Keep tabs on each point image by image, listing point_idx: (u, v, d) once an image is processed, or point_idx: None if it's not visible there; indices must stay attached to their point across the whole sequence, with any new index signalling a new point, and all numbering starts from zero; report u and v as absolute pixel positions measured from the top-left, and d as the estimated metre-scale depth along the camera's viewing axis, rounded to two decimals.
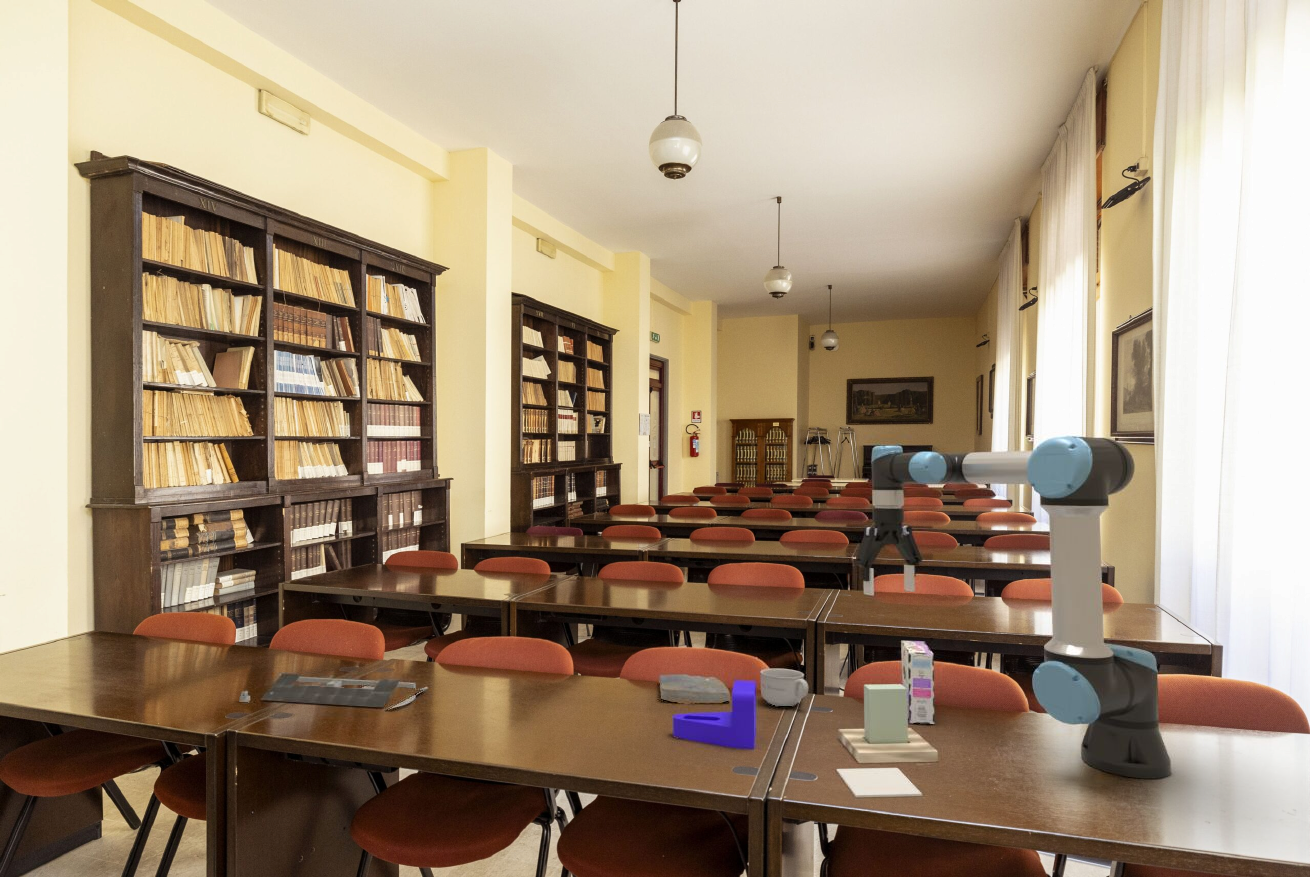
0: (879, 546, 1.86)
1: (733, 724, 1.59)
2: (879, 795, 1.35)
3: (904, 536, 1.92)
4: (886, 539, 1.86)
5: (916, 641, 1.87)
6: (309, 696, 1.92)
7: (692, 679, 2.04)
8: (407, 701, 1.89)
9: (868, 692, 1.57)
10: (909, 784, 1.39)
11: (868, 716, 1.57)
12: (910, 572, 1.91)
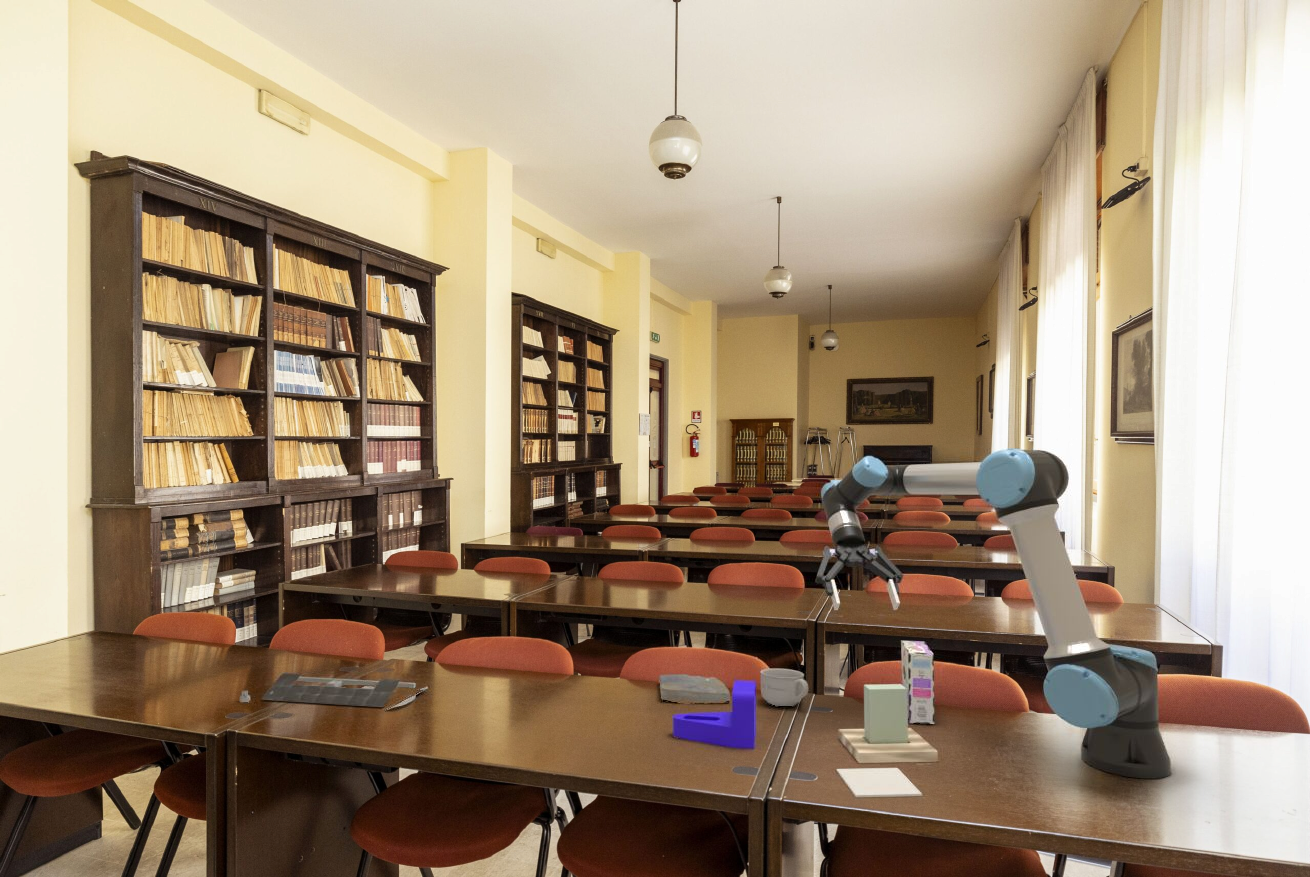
0: (838, 561, 1.78)
1: (733, 724, 1.59)
2: (879, 795, 1.35)
3: (877, 559, 1.81)
4: (846, 555, 1.79)
5: (916, 641, 1.87)
6: (310, 696, 1.92)
7: (692, 679, 2.04)
8: (407, 701, 1.89)
9: (868, 692, 1.57)
10: (909, 784, 1.39)
11: (868, 716, 1.57)
12: (890, 587, 1.74)
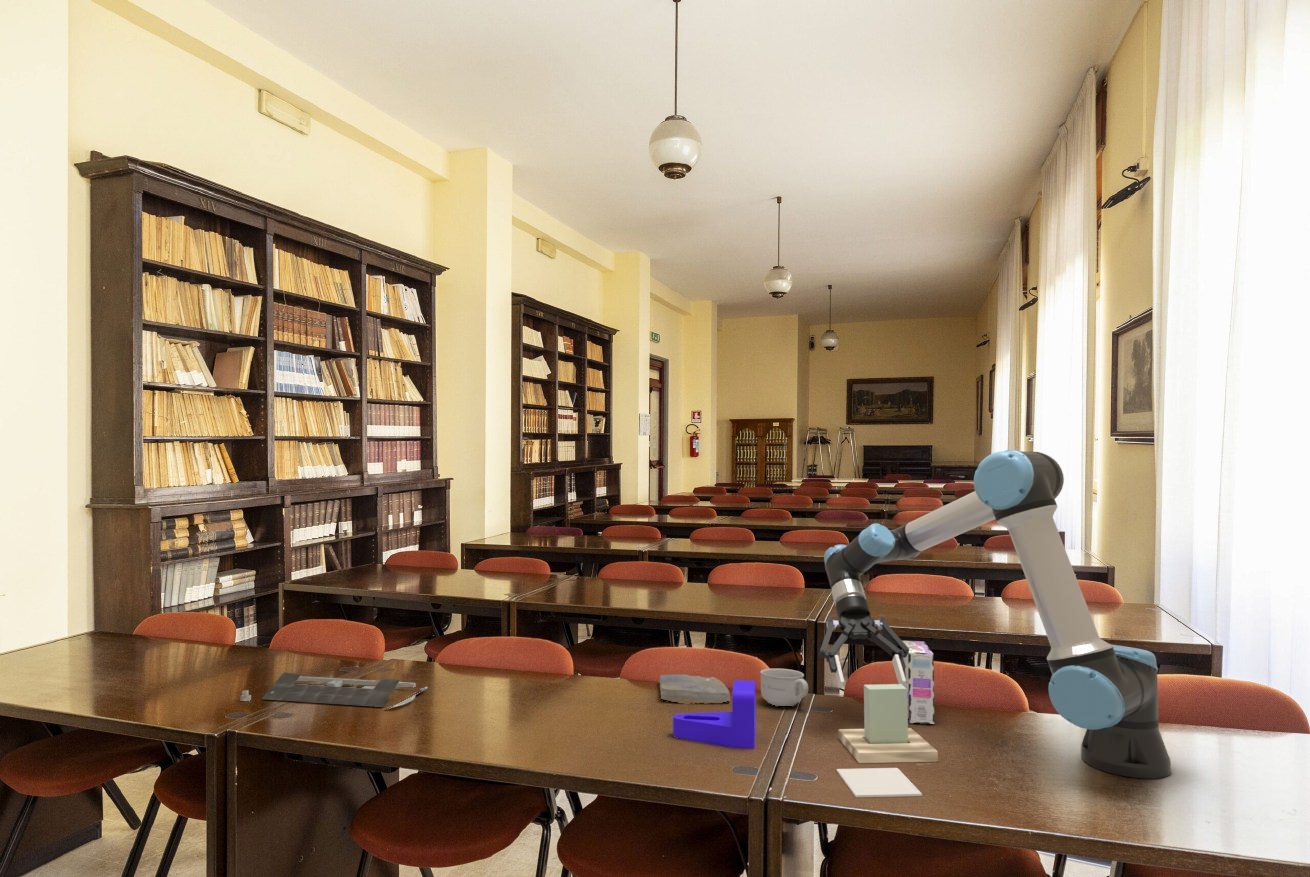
0: (842, 635, 1.73)
1: (733, 724, 1.60)
2: (879, 795, 1.35)
3: (882, 631, 1.76)
4: (850, 627, 1.73)
5: (916, 641, 1.87)
6: (310, 695, 1.92)
7: (692, 679, 2.04)
8: (407, 701, 1.89)
9: (868, 692, 1.57)
10: (909, 784, 1.39)
11: (868, 716, 1.57)
12: (896, 662, 1.68)
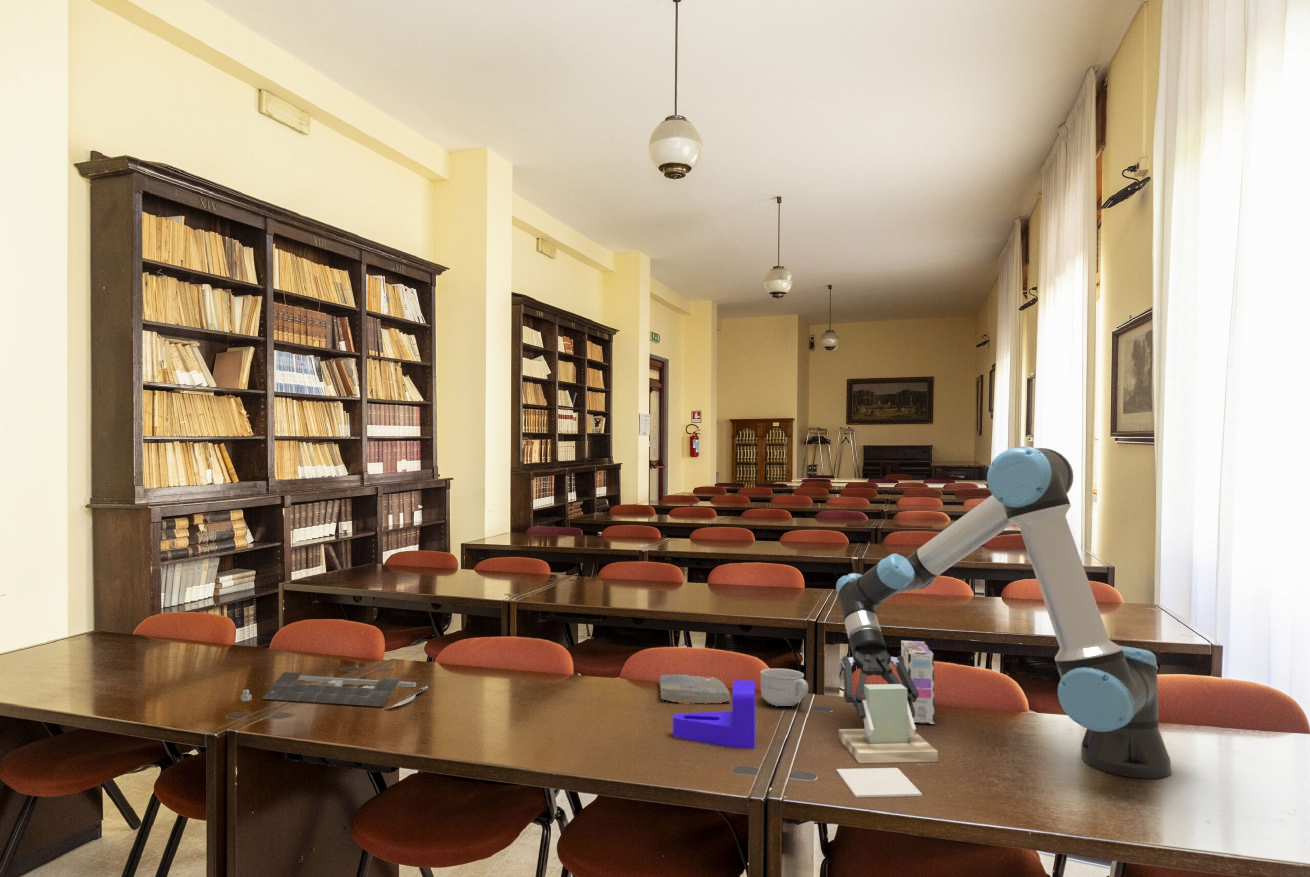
0: (863, 674, 1.63)
1: (733, 724, 1.60)
2: (879, 795, 1.35)
3: (897, 670, 1.66)
4: (867, 664, 1.64)
5: (916, 641, 1.87)
6: (310, 695, 1.92)
7: (692, 679, 2.04)
8: (407, 700, 1.89)
9: (868, 692, 1.57)
10: (909, 784, 1.39)
11: None
12: None
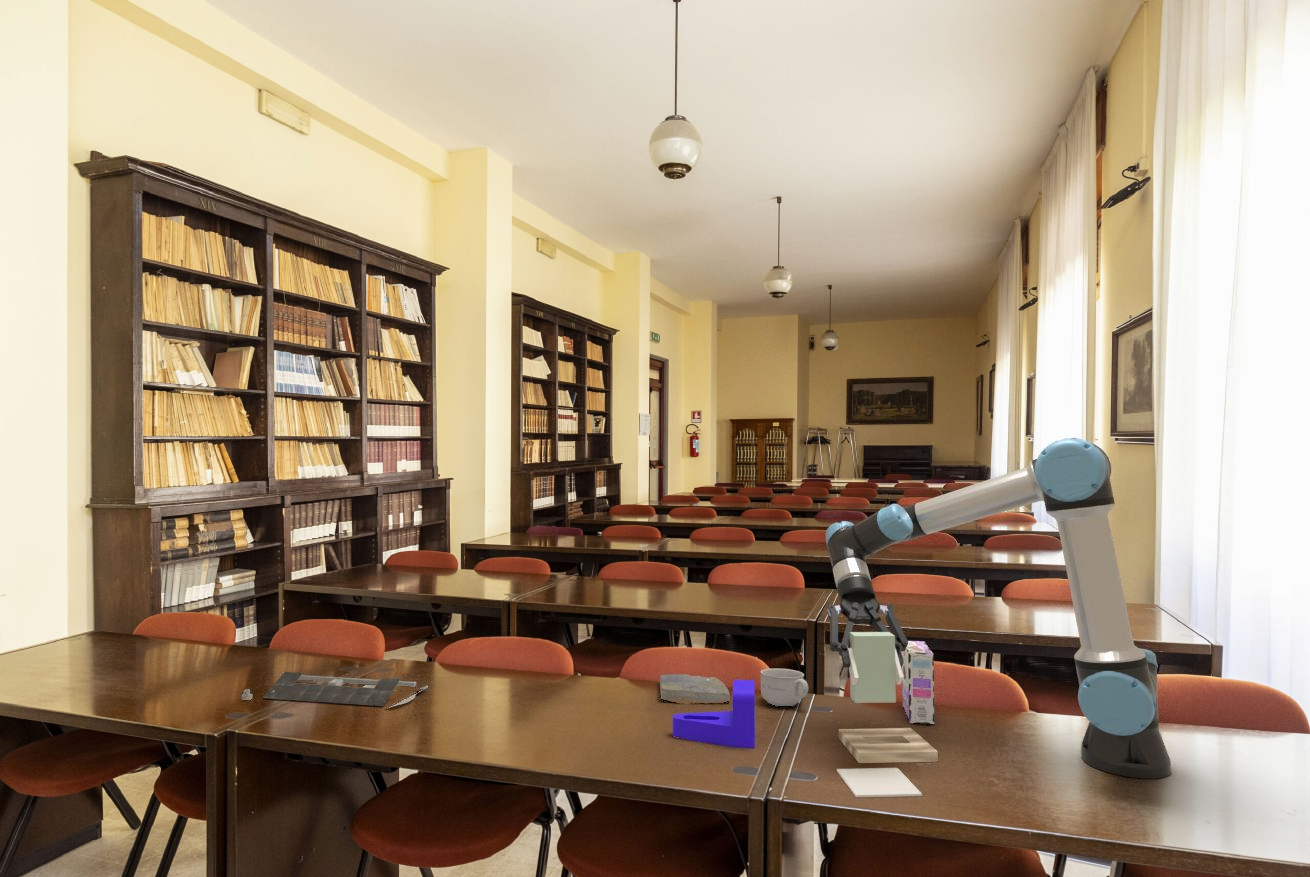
0: (849, 622, 1.55)
1: (734, 723, 1.60)
2: (879, 795, 1.35)
3: (887, 618, 1.58)
4: (854, 612, 1.56)
5: (916, 641, 1.87)
6: (311, 695, 1.93)
7: (692, 679, 2.04)
8: (407, 700, 1.90)
9: (853, 639, 1.49)
10: (909, 784, 1.39)
11: None
12: None
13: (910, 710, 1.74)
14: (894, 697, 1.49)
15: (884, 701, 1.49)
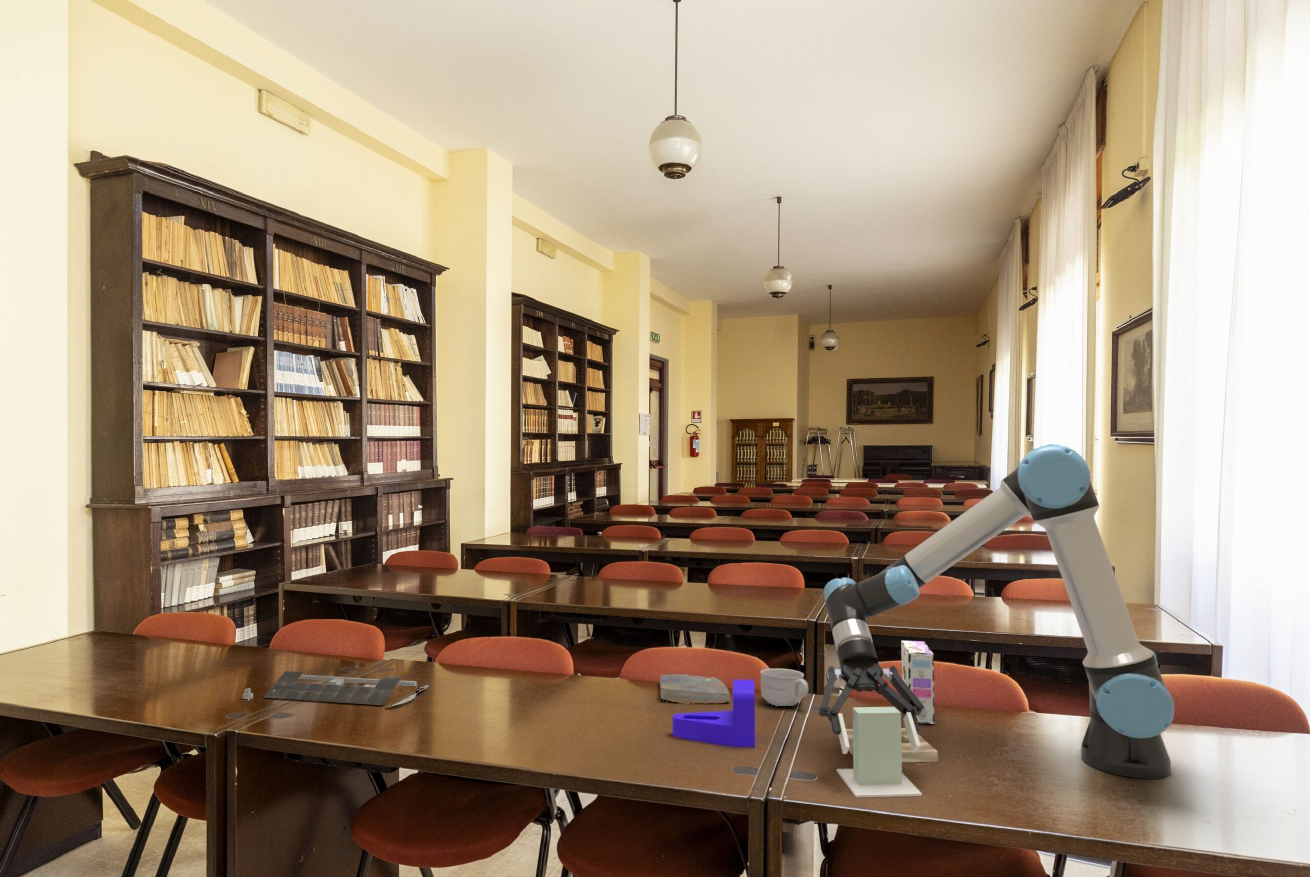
0: (846, 687, 1.47)
1: (734, 723, 1.60)
2: (879, 795, 1.35)
3: (892, 682, 1.50)
4: (854, 678, 1.48)
5: (916, 641, 1.87)
6: (311, 694, 1.94)
7: (693, 679, 2.04)
8: (407, 699, 1.90)
9: (857, 716, 1.40)
10: (909, 784, 1.39)
11: (857, 743, 1.40)
12: (908, 722, 1.42)
13: None
14: (900, 778, 1.39)
15: (890, 783, 1.39)
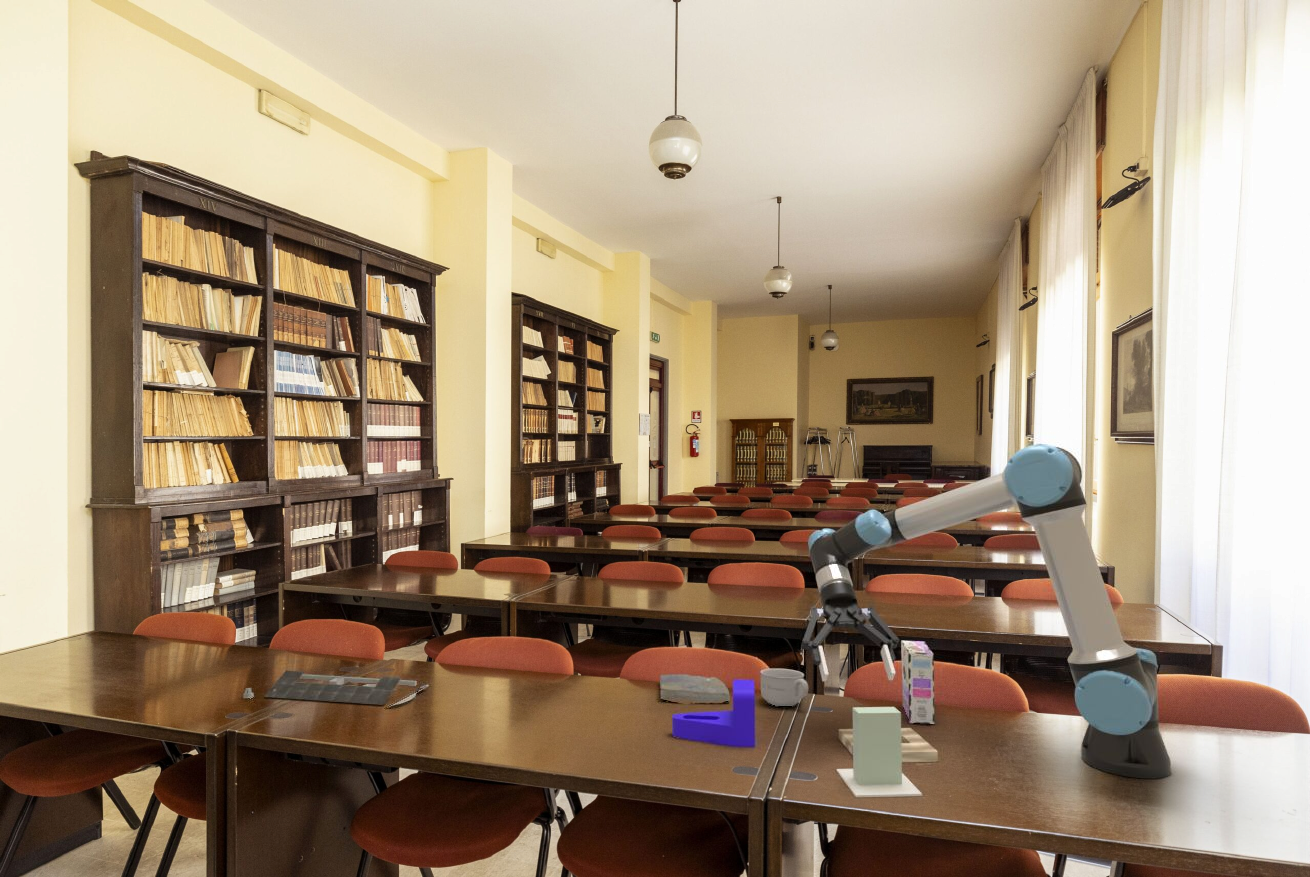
0: (827, 624, 1.59)
1: (734, 723, 1.60)
2: (879, 795, 1.35)
3: (870, 620, 1.63)
4: (835, 616, 1.60)
5: (916, 641, 1.87)
6: (312, 693, 1.94)
7: (693, 679, 2.04)
8: (407, 699, 1.90)
9: (857, 716, 1.40)
10: (909, 784, 1.39)
11: (857, 743, 1.40)
12: (885, 654, 1.55)
13: (910, 710, 1.74)
14: (900, 778, 1.39)
15: (890, 783, 1.39)
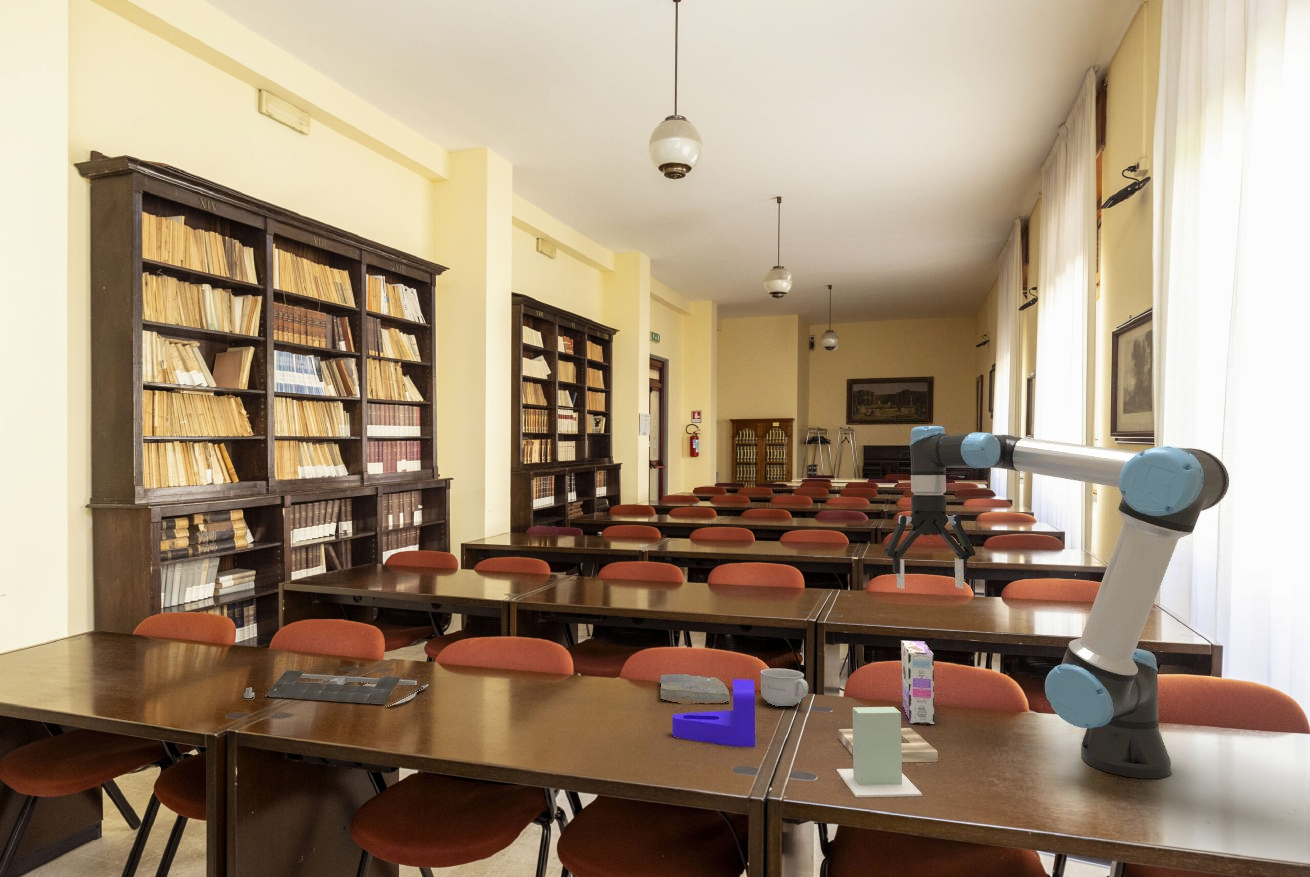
0: (913, 536, 1.71)
1: (734, 723, 1.60)
2: (879, 795, 1.35)
3: (953, 526, 1.73)
4: (922, 529, 1.70)
5: (916, 641, 1.87)
6: (312, 693, 1.94)
7: (693, 679, 2.04)
8: (407, 698, 1.91)
9: (857, 716, 1.40)
10: (909, 784, 1.39)
11: (857, 743, 1.40)
12: (959, 567, 1.71)
13: (910, 710, 1.74)
14: (900, 778, 1.39)
15: (890, 783, 1.39)
